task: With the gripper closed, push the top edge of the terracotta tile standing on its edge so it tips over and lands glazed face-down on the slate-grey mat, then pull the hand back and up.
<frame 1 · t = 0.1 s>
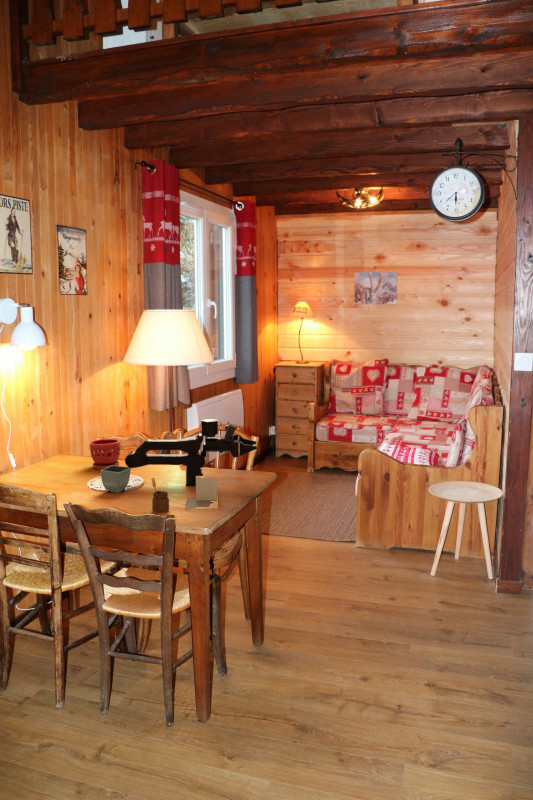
hand: (256, 445, 270), 17 cm above the table, tool horizontal, fingers open, 9 cm apart
utensil holder: (160, 512, 237), on the table
flower pot: (116, 491, 262), on the table
tile: (206, 500, 250), resting on slate mat
slate mat: (202, 504, 246), on the table
plant pot: (105, 467, 298), on the table
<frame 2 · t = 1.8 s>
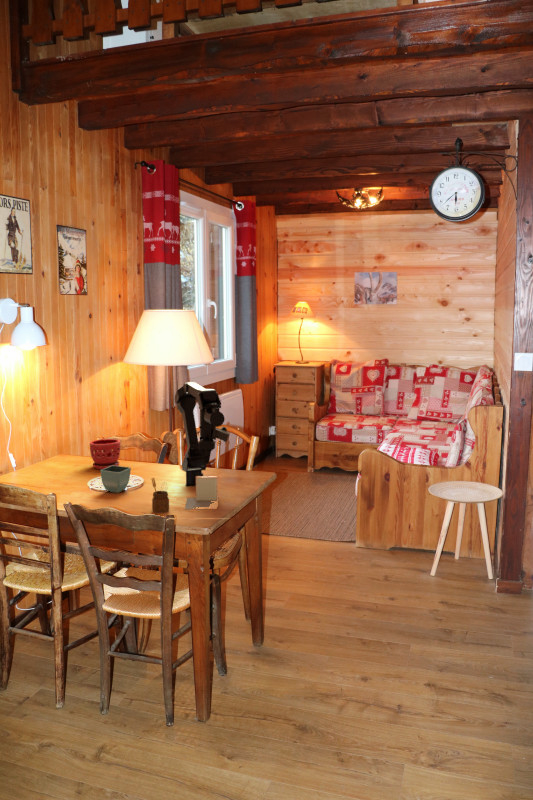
hand: (207, 462, 256), 13 cm above the table, tool pointing down, fingers open, 5 cm apart
nothing on the table moved.
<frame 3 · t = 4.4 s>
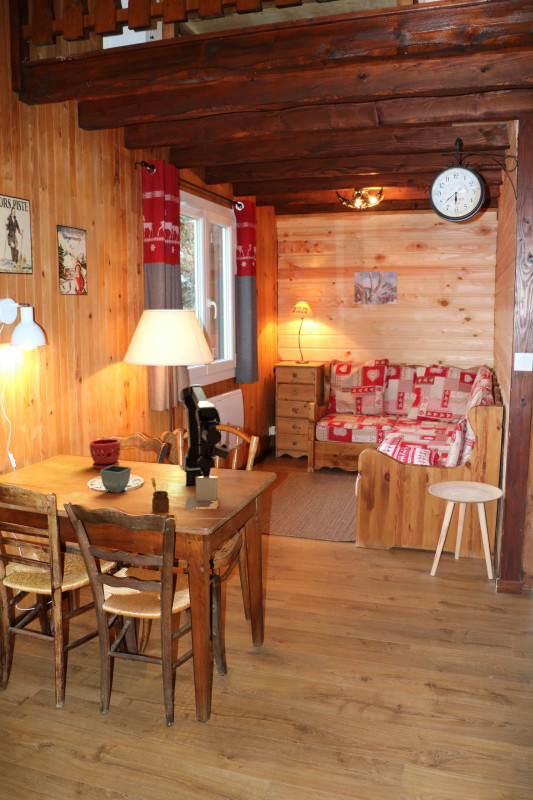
hand: (207, 480, 251), 8 cm above the table, tool pointing down, fingers closed
tile: (206, 499, 250), resting on slate mat, touching gripper
everything else where it was.
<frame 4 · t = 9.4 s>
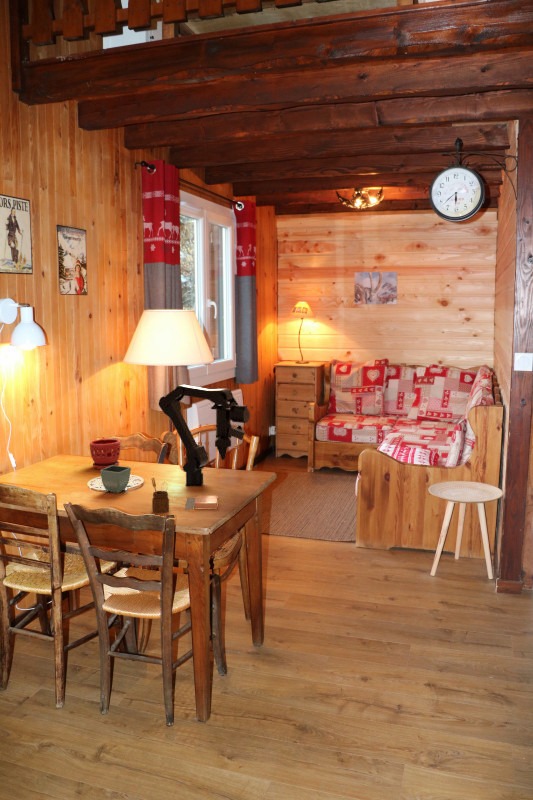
hand: (223, 459, 264), 12 cm above the table, tool pointing down, fingers closed
tile: (206, 498, 249), point 1 cm above the table, tilted 90°, touching slate mat
everything else where it was.
at the end: tile tilted 90°; tile inside the target area (2.6 cm from its centre), point 1.5 cm above the table; the gripper is holding nothing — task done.
